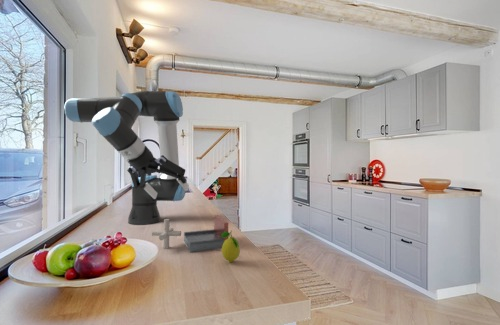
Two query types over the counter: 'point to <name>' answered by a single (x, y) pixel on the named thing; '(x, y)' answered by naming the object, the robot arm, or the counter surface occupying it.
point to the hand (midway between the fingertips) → (171, 192)
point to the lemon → (230, 247)
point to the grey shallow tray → (207, 237)
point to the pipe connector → (166, 233)
